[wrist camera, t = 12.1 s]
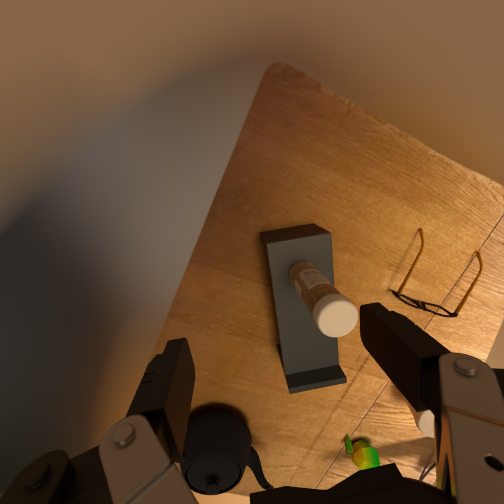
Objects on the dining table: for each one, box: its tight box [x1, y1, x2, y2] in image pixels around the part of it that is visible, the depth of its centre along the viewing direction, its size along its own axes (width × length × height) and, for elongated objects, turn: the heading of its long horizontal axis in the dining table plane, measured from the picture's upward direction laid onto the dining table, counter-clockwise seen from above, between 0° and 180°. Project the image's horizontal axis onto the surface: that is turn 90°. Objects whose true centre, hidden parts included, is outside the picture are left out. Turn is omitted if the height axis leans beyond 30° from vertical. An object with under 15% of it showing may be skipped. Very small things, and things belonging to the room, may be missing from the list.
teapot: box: [174, 409, 274, 495], centre depth 51 cm, size 25×16×12 cm, turn 63°
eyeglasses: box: [392, 228, 483, 317], centre depth 48 cm, size 14×14×4 cm
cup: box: [402, 394, 434, 438], centre depth 54 cm, size 10×10×9 cm
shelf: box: [260, 224, 347, 394], centre depth 44 cm, size 26×10×11 cm, turn 9°
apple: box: [345, 434, 380, 470], centre depth 60 cm, size 7×6×9 cm
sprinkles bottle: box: [289, 261, 358, 337], centre depth 33 cm, size 5×5×13 cm
